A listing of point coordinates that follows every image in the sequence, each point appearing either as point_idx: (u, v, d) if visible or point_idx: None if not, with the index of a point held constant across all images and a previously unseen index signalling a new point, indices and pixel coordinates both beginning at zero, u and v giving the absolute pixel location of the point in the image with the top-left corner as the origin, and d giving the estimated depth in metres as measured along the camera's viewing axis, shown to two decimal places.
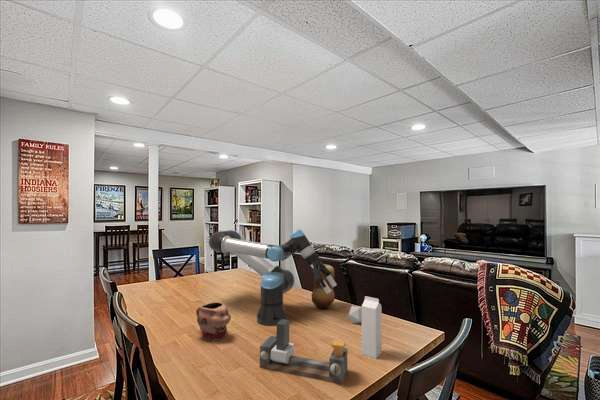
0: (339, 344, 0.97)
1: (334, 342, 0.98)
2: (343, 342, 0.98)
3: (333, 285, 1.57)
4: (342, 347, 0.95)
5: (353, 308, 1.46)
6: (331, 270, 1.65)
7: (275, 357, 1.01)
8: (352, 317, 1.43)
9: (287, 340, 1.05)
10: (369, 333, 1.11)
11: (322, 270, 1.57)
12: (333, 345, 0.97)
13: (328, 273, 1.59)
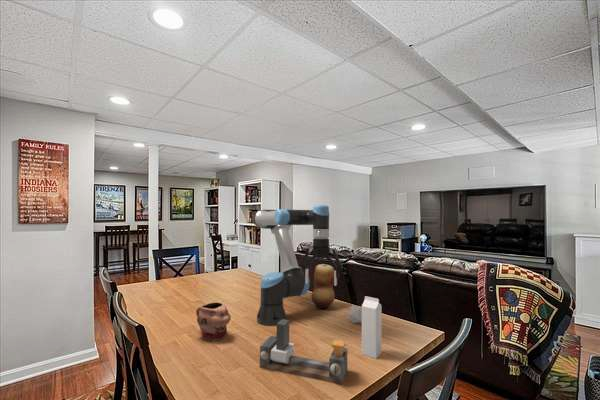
0: (339, 344, 0.97)
1: (334, 342, 0.98)
2: (343, 342, 0.98)
3: None
4: (342, 347, 0.95)
5: (353, 308, 1.46)
6: (331, 270, 1.65)
7: (275, 357, 1.01)
8: (352, 317, 1.43)
9: (287, 340, 1.05)
10: (369, 333, 1.11)
11: None
12: (333, 345, 0.97)
13: (334, 268, 1.30)
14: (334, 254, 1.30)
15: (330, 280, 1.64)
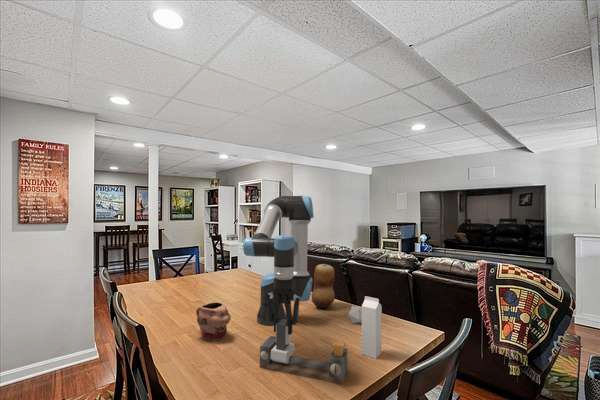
0: (339, 344, 0.97)
1: (334, 342, 0.98)
2: (343, 342, 0.98)
3: None
4: (342, 347, 0.95)
5: (353, 308, 1.46)
6: (331, 270, 1.65)
7: (275, 357, 1.01)
8: (352, 317, 1.43)
9: None
10: (369, 333, 1.11)
11: None
12: (333, 345, 0.97)
13: (287, 321, 1.03)
14: (295, 304, 1.02)
15: (330, 280, 1.64)
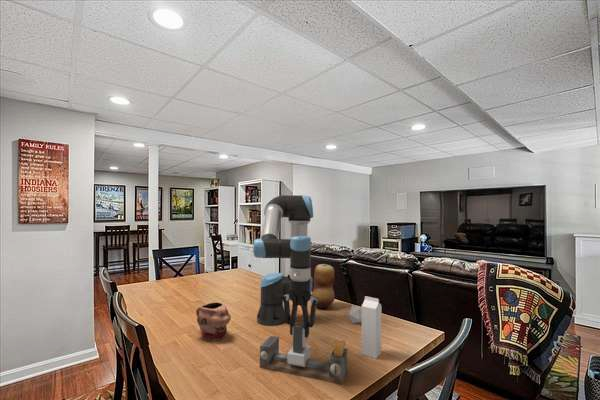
0: (339, 344, 0.97)
1: (334, 342, 0.98)
2: (343, 342, 0.98)
3: None
4: (342, 347, 0.95)
5: (353, 308, 1.46)
6: (331, 270, 1.65)
7: (292, 360, 0.99)
8: (352, 317, 1.43)
9: None
10: (369, 333, 1.11)
11: None
12: (333, 345, 0.97)
13: (304, 324, 1.01)
14: (312, 306, 1.00)
15: (330, 280, 1.64)
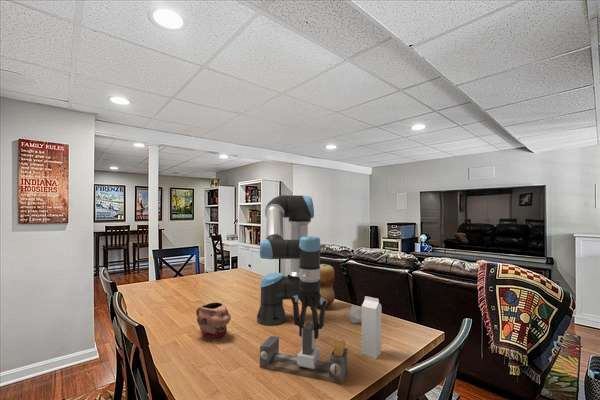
0: (339, 344, 0.97)
1: (334, 342, 0.98)
2: (343, 342, 0.98)
3: None
4: (342, 347, 0.95)
5: (353, 308, 1.46)
6: (331, 270, 1.65)
7: (302, 362, 0.98)
8: (352, 317, 1.43)
9: None
10: (369, 333, 1.11)
11: None
12: (333, 345, 0.97)
13: None
14: (322, 307, 0.99)
15: (330, 280, 1.64)
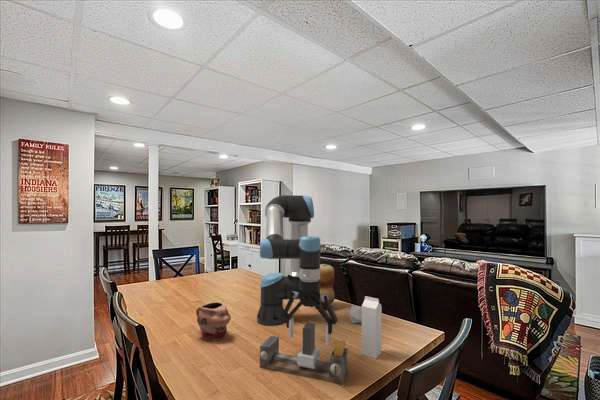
0: (339, 344, 0.97)
1: (334, 342, 0.98)
2: (343, 342, 0.98)
3: None
4: (342, 347, 0.95)
5: (353, 308, 1.46)
6: (331, 270, 1.65)
7: (302, 362, 0.98)
8: (352, 317, 1.43)
9: (313, 344, 1.02)
10: (369, 333, 1.11)
11: None
12: (333, 345, 0.97)
13: (326, 321, 0.99)
14: (326, 303, 0.99)
15: (330, 280, 1.64)
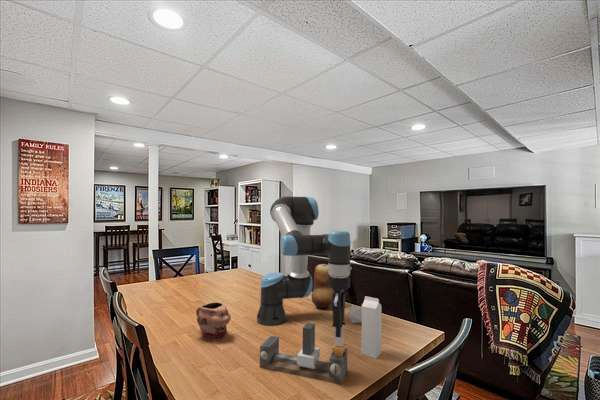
0: (339, 347, 0.97)
1: (334, 345, 0.98)
2: (343, 345, 0.98)
3: None
4: (342, 350, 0.95)
5: (353, 308, 1.46)
6: None
7: (302, 362, 0.98)
8: (352, 317, 1.43)
9: (313, 344, 1.02)
10: (369, 333, 1.11)
11: None
12: (333, 348, 0.97)
13: (342, 320, 0.99)
14: None
15: None
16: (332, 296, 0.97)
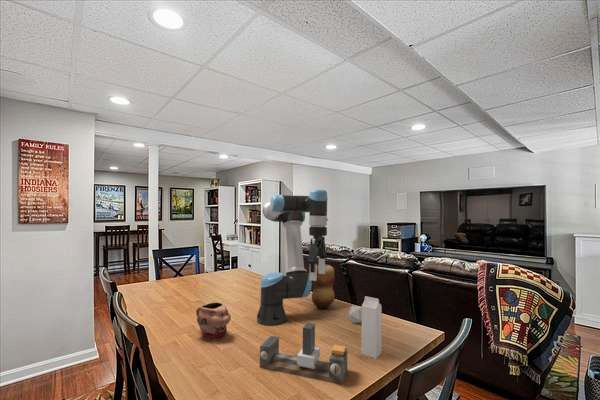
0: (339, 349, 0.97)
1: (334, 347, 0.98)
2: (343, 348, 0.98)
3: (320, 272, 1.26)
4: (342, 352, 0.95)
5: (353, 308, 1.46)
6: (331, 270, 1.65)
7: (302, 362, 0.98)
8: (352, 317, 1.43)
9: (313, 344, 1.02)
10: (369, 333, 1.11)
11: (320, 249, 1.24)
12: (333, 350, 0.96)
13: (323, 256, 1.26)
14: (324, 242, 1.26)
15: (330, 280, 1.64)
16: None
